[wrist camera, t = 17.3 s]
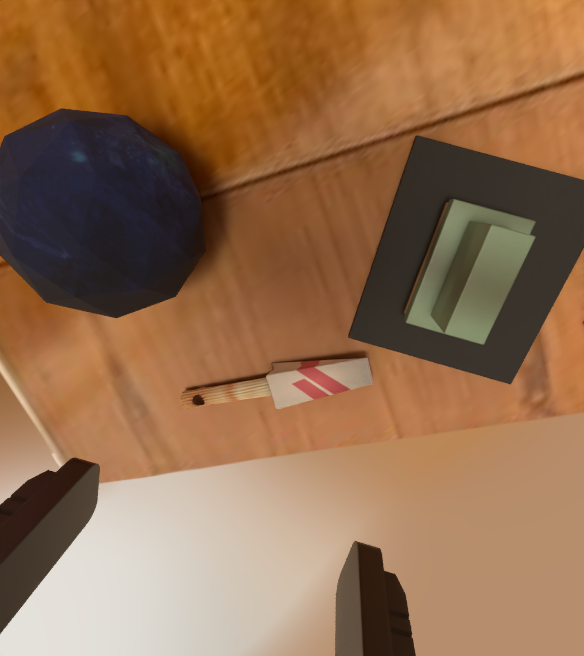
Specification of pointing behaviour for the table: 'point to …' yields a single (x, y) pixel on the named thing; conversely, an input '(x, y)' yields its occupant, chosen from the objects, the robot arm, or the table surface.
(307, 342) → the table surface
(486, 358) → the mat
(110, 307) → the decorative orb
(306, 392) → the paintbrush
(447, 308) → the green stepped block
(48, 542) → the robot arm
